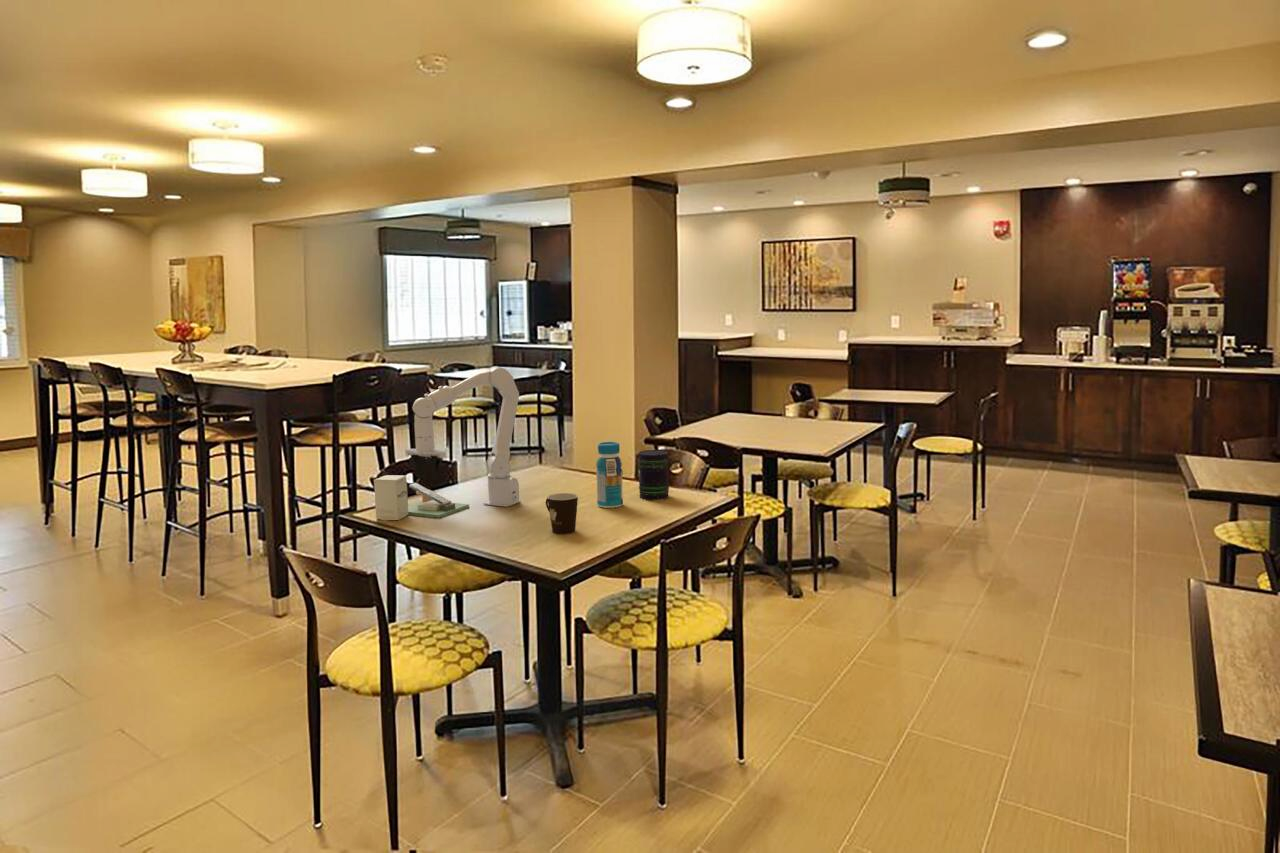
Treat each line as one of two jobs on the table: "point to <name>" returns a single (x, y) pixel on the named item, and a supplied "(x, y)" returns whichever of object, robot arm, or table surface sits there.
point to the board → (434, 508)
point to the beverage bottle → (609, 476)
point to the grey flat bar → (429, 494)
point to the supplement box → (391, 497)
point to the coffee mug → (562, 512)
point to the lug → (424, 497)
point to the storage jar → (653, 474)
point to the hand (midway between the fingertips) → (427, 479)
